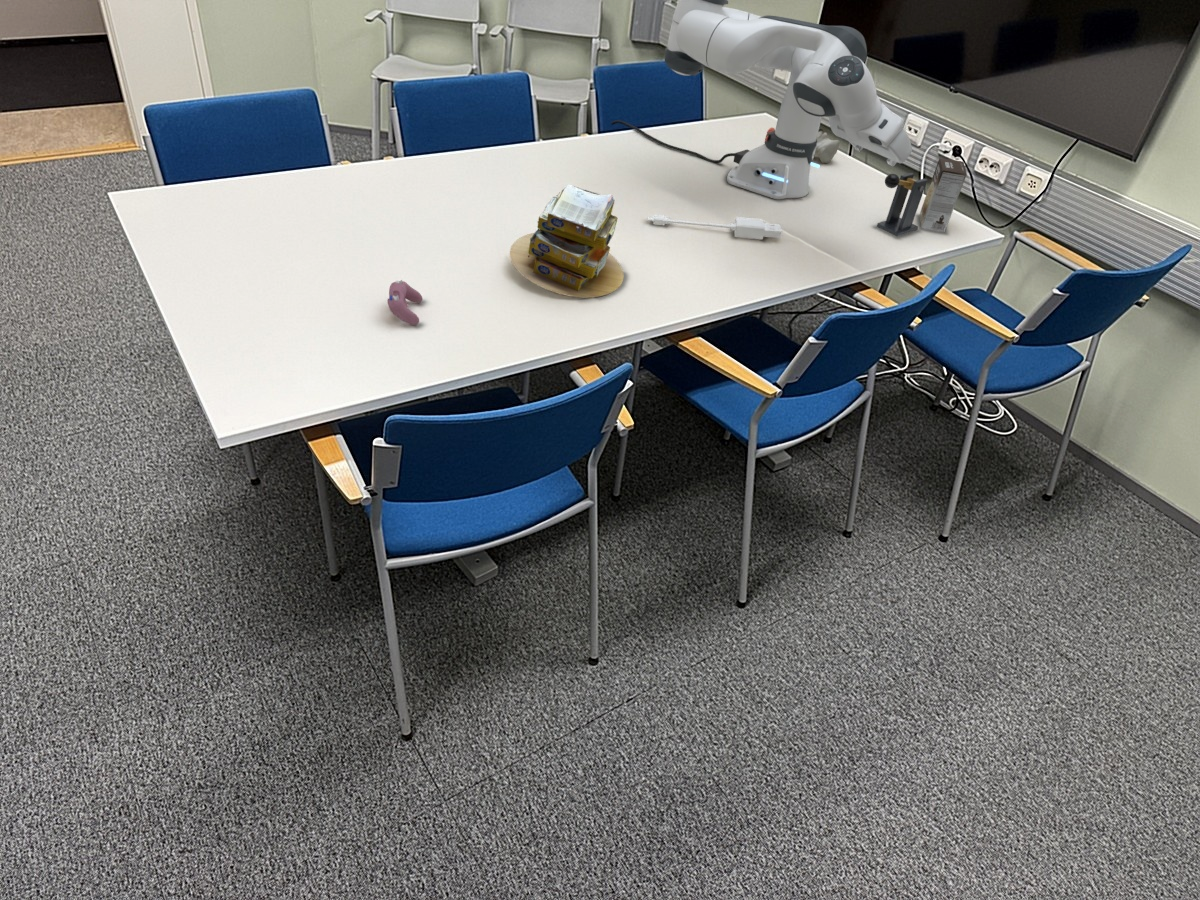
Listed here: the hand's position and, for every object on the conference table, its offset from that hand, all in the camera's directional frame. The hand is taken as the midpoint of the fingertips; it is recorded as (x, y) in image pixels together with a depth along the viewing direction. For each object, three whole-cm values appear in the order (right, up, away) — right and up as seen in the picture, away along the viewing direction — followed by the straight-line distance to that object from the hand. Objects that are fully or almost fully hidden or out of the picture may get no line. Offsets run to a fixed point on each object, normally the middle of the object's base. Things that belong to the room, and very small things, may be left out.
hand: (876, 155), depth 202 cm
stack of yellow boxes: (-71, -29, -12) cm, 78 cm away
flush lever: (+10, -3, +14) cm, 18 cm away
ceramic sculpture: (0, +20, +60) cm, 63 cm away
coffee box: (+24, -8, +30) cm, 39 cm away
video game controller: (-101, -42, -32) cm, 114 cm away
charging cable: (-36, -15, +12) cm, 40 cm away
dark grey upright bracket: (+13, -11, +25) cm, 30 cm away
